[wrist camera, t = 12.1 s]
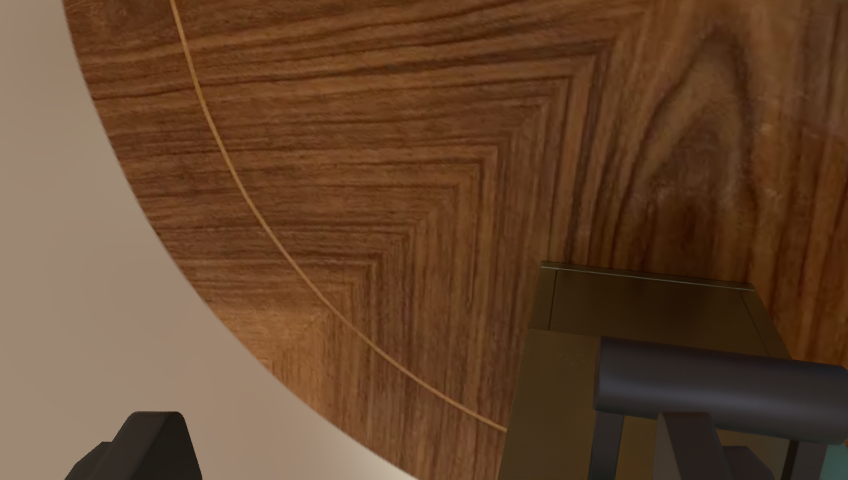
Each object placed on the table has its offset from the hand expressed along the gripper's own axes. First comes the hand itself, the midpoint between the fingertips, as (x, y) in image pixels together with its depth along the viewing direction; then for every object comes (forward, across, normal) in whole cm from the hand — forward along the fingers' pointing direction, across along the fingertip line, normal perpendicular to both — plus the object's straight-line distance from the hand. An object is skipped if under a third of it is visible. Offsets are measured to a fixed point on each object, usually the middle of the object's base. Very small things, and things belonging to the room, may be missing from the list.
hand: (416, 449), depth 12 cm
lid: (+10, +7, -9) cm, 15 cm away
